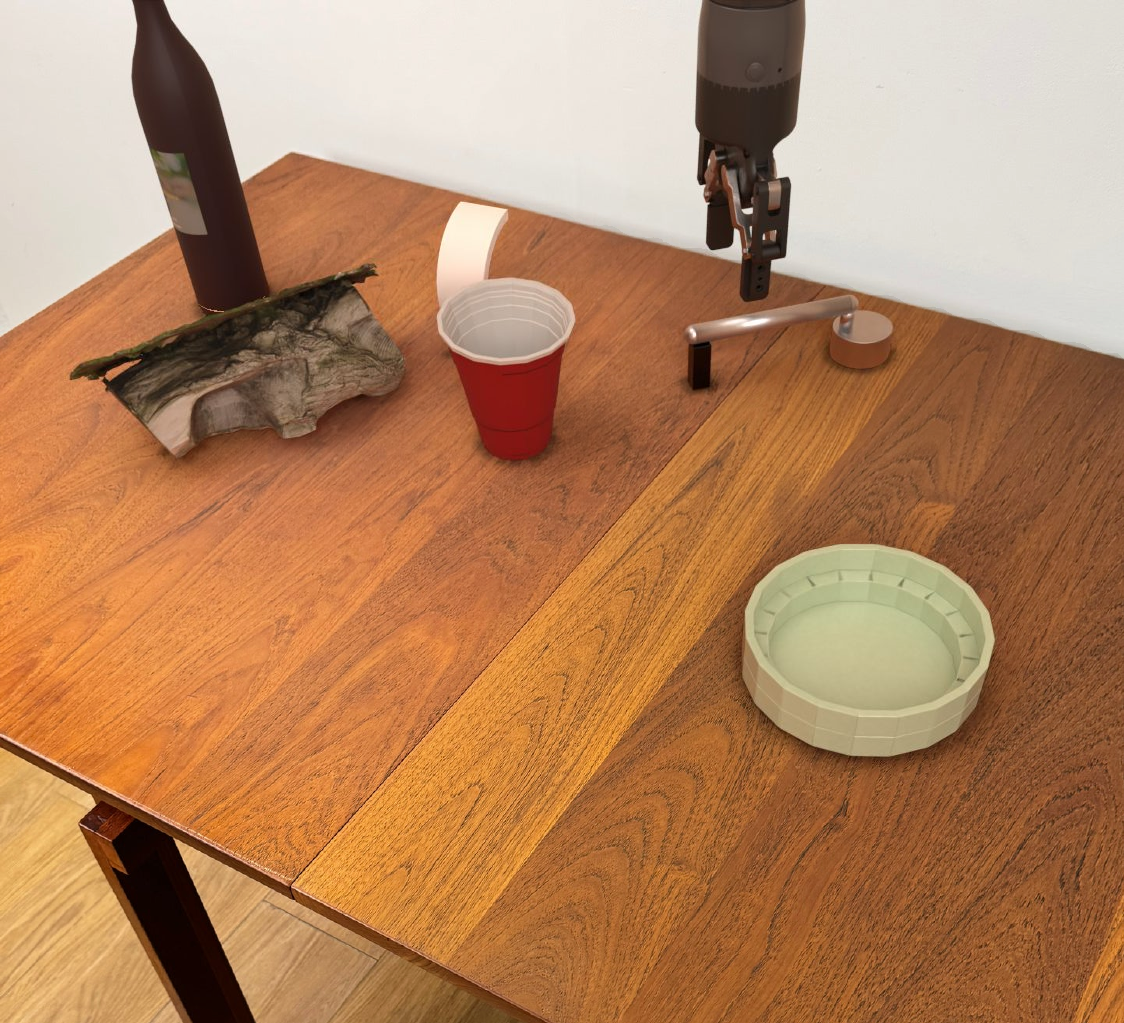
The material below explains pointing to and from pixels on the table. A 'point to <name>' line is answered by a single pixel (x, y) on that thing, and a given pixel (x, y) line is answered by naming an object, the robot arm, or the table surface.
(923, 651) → the bowl
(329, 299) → the mossy driftwood chunk
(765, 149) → the robot arm
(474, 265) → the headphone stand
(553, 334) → the plastic cup
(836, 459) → the table surface
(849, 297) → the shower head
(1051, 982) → the table surface
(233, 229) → the wine bottle
